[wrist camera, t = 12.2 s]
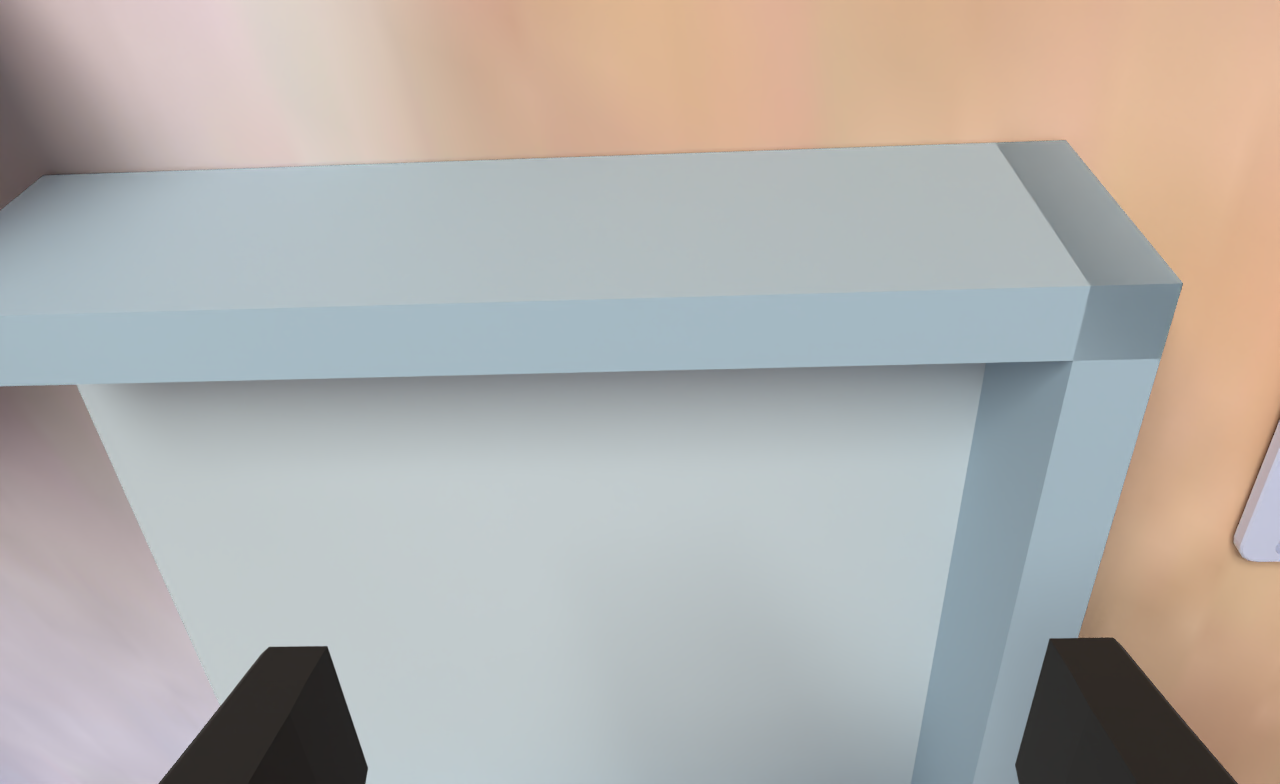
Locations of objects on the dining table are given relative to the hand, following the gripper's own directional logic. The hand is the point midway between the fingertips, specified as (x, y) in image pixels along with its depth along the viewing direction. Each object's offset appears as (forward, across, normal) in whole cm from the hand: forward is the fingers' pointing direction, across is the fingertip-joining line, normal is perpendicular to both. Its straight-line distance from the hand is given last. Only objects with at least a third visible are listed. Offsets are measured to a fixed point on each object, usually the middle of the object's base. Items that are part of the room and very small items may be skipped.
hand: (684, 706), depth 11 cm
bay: (+10, +3, +8) cm, 13 cm away
